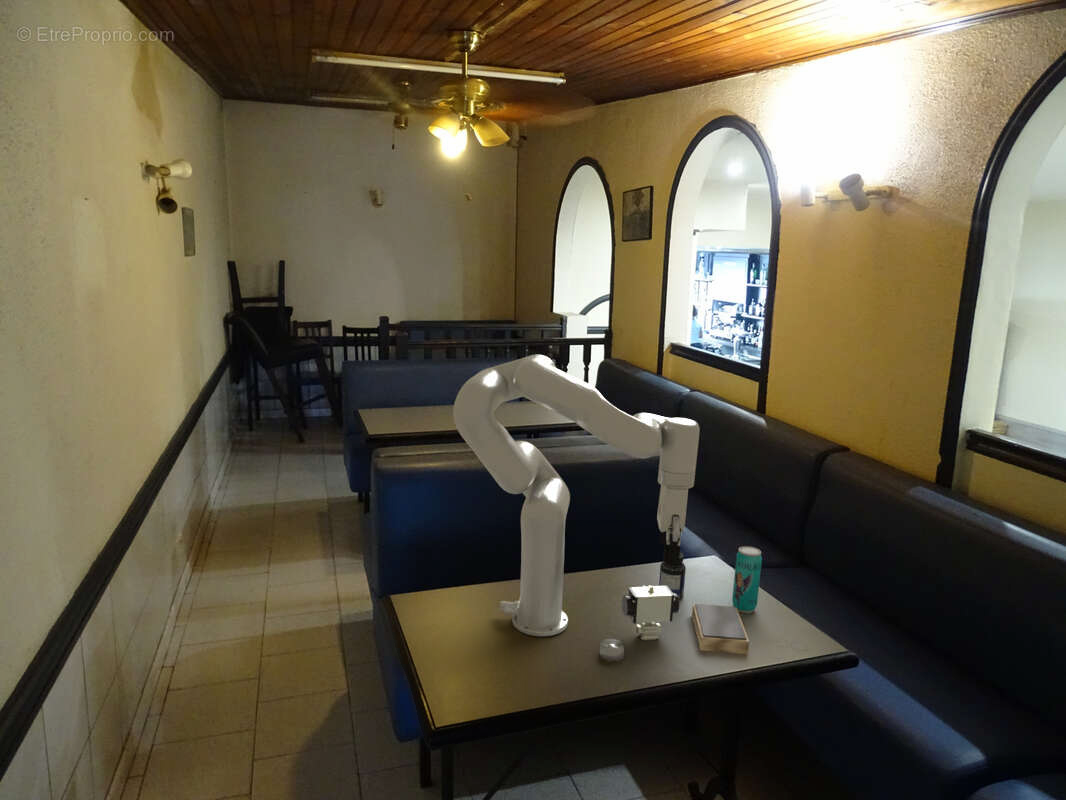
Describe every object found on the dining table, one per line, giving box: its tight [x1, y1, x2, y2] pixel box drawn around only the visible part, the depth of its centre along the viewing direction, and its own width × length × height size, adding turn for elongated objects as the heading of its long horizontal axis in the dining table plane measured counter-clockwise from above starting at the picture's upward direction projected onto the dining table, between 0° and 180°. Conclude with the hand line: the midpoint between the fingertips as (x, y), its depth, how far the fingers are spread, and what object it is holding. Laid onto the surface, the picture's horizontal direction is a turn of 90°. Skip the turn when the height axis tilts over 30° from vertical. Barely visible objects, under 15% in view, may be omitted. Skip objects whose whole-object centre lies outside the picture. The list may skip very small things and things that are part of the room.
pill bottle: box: [658, 552, 686, 601], centre depth 180 cm, size 6×6×11 cm
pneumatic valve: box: [621, 584, 680, 641], centre depth 161 cm, size 6×12×12 cm, turn 100°
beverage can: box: [731, 545, 763, 614], centre depth 174 cm, size 6×6×15 cm
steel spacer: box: [599, 638, 625, 662], centre depth 154 cm, size 5×5×2 cm
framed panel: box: [691, 603, 750, 655], centre depth 164 cm, size 10×15×3 cm, turn 175°
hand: (668, 552), depth 158 cm, fingers open, 9 cm apart
